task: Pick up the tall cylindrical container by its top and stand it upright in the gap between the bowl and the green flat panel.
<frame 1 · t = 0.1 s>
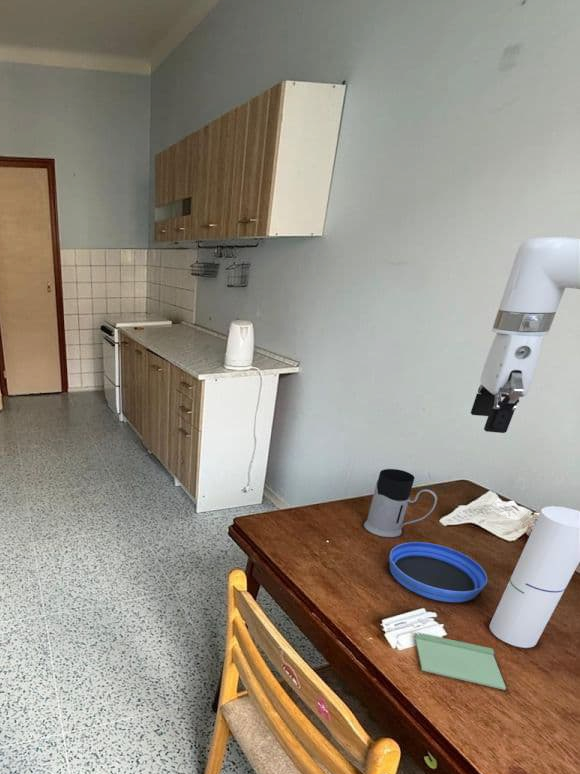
hand: (487, 423, 85), 35 cm above the table, tool pointing down, fingers open, 9 cm apart
green flat panel: (456, 660, 82), on the table
bowl: (432, 578, 103), on the table
cylindrical container: (512, 634, 88), on the table
glass holder: (393, 533, 119), on the table
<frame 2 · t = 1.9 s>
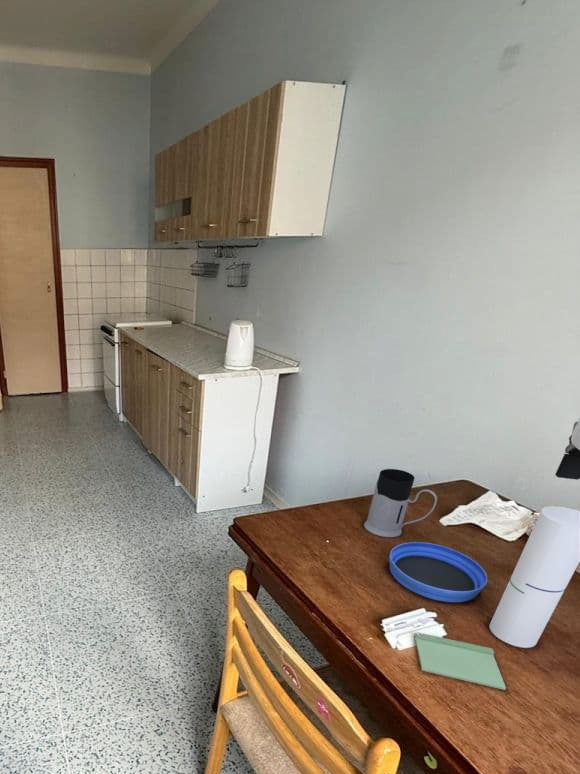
hand: (579, 490, 74), 30 cm above the table, tool pointing down, fingers open, 9 cm apart
nothing on the table moved.
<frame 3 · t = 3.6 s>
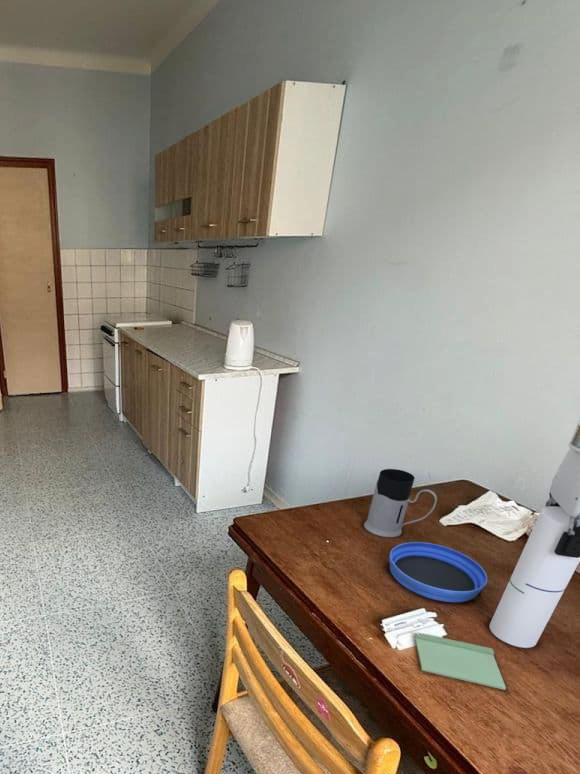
hand: (556, 541, 78), 20 cm above the table, tool pointing down, fingers closed on cylindrical container, 7 cm apart
cylindrical container: (512, 634, 88), on the table, touching gripper
everything else where it was.
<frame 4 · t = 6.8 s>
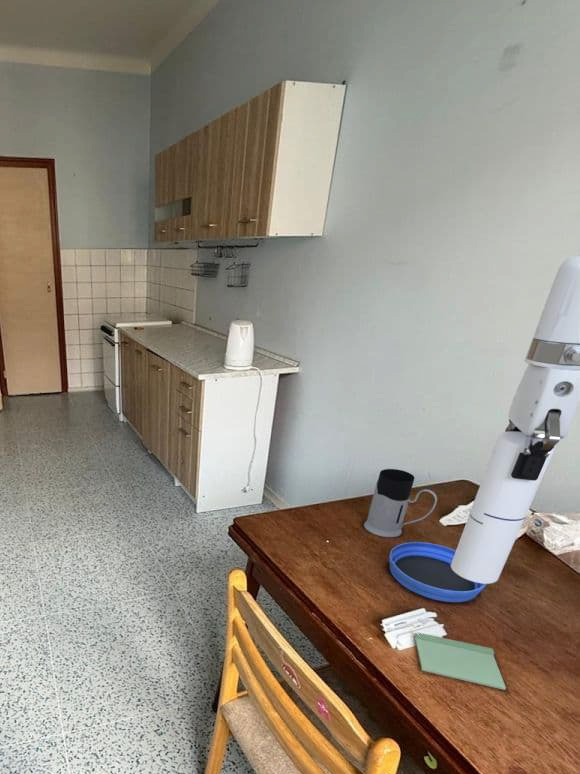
hand: (515, 467, 75), 33 cm above the table, tool pointing down, fingers closed on cylindrical container, 7 cm apart
cylindrical container: (473, 572, 84), point 12 cm above the table, touching gripper
everything else where it was.
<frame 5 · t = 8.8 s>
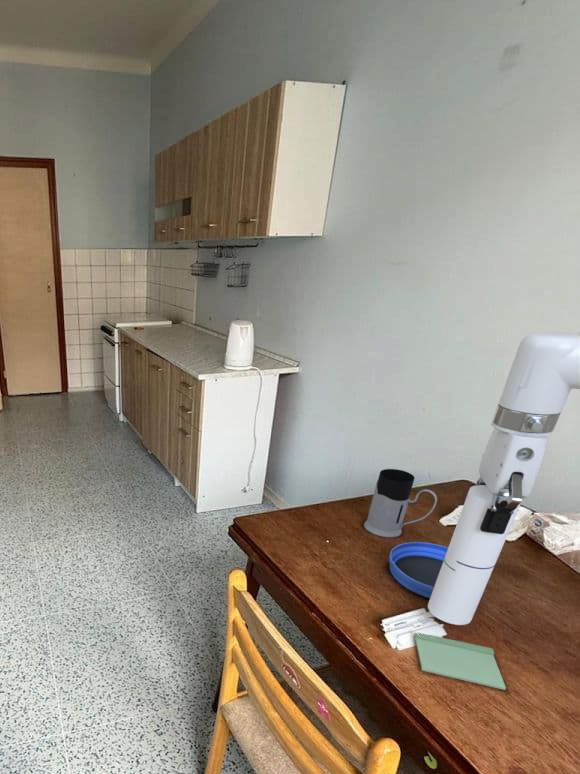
hand: (485, 519, 80), 23 cm above the table, tool pointing down, fingers closed on cylindrical container, 7 cm apart
cylindrical container: (448, 612, 89), point 2 cm above the table, touching gripper
everything else where it was.
when the fingers open (20 cm above the table, at t = 10.1 s): cylindrical container stays where it is, on the table.
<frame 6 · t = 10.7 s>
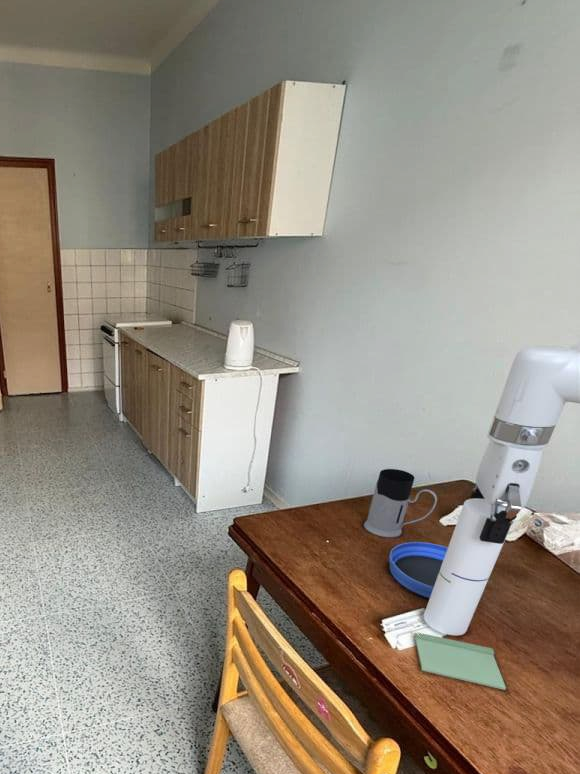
hand: (483, 526, 80), 21 cm above the table, tool pointing down, fingers open, 9 cm apart
cylindrical container: (444, 622, 91), on the table
everything else where it was.
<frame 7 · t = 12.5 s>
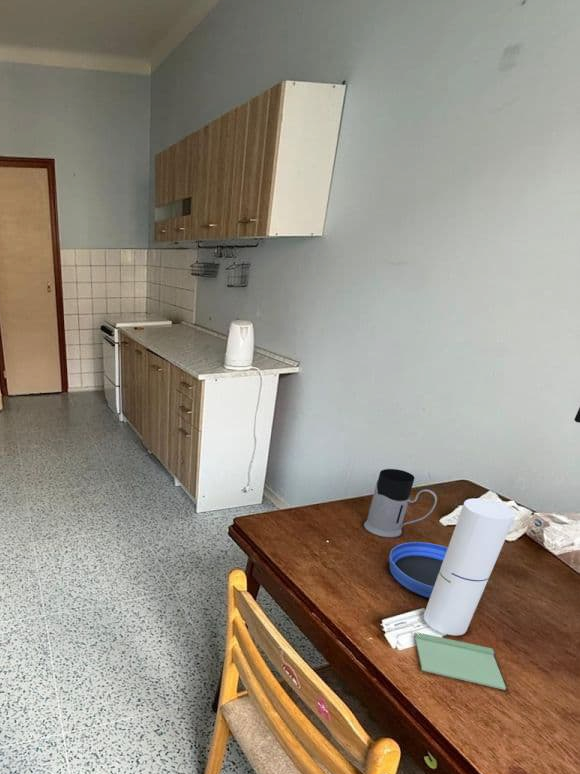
nothing on the table moved.
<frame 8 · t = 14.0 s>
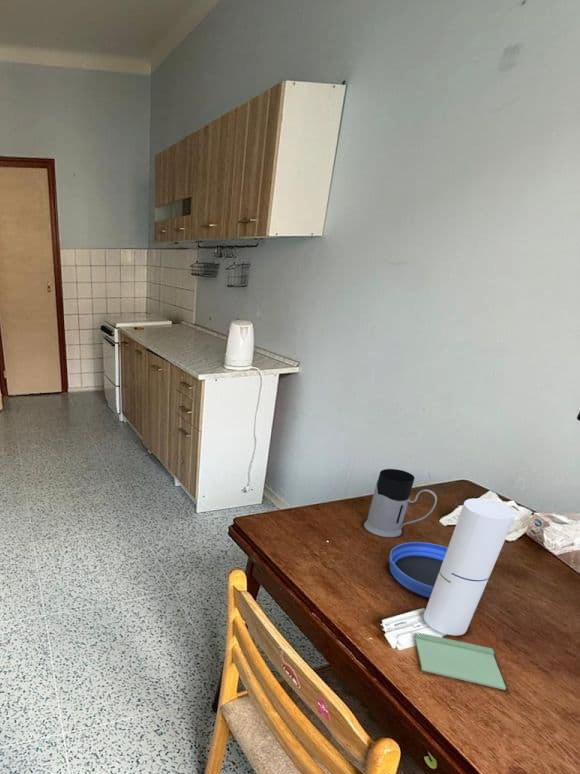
nothing on the table moved.
at the end: cylindrical container inside the target area on the table beside the bowl (0.3 cm from its centre), on the table; cylindrical container tilted 0°; bowl moved 0.2 cm from its start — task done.
